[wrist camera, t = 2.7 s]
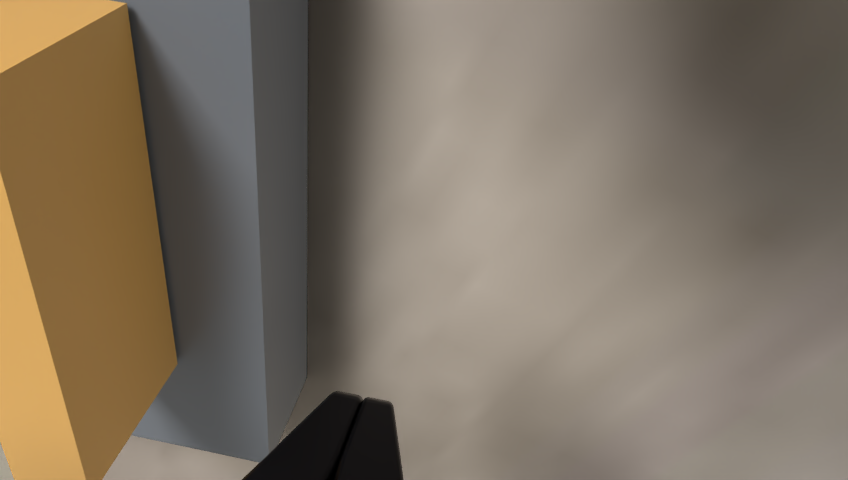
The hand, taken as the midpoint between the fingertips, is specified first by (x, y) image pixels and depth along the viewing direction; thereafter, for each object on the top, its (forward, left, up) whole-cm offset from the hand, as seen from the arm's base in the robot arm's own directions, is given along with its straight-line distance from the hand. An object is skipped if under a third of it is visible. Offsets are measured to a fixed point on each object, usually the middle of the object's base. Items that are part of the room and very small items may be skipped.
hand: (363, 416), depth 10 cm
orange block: (+9, 0, -4) cm, 10 cm away
